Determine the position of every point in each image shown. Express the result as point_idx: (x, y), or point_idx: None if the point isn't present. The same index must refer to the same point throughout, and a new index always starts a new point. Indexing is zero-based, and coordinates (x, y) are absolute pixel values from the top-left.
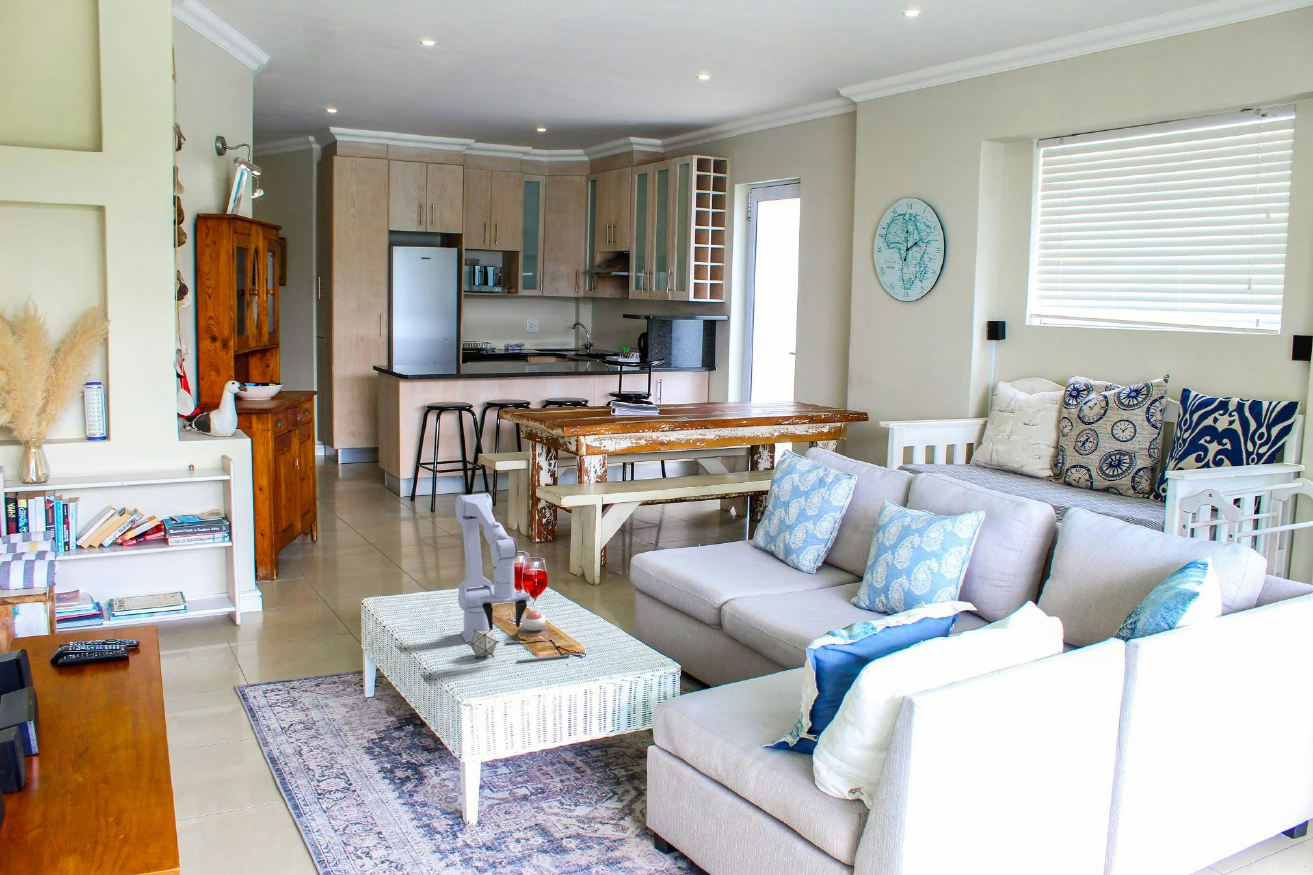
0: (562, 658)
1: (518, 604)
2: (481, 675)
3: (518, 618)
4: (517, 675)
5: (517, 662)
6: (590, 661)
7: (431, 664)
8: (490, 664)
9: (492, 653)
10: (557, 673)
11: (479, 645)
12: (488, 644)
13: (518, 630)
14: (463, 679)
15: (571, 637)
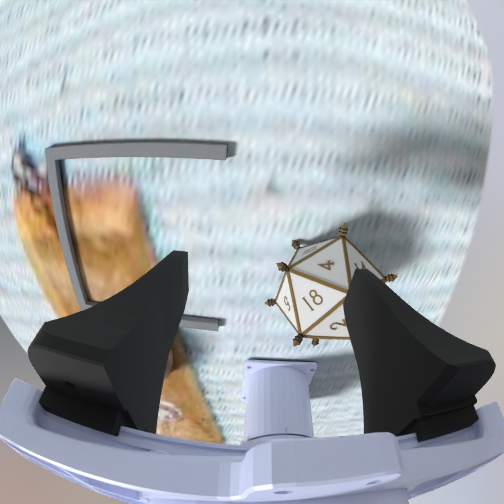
0: (65, 145)
1: (115, 382)
2: (398, 87)
3: (161, 280)
4: (270, 20)
5: (226, 145)
6: (9, 103)
7: (464, 255)
8: (330, 177)
9: (298, 249)
10: (117, 4)
11: (365, 262)
12: (331, 256)
13: (167, 371)
14: (455, 91)
15: (46, 298)
